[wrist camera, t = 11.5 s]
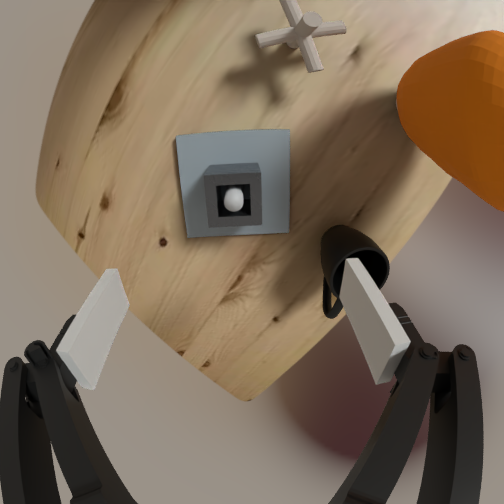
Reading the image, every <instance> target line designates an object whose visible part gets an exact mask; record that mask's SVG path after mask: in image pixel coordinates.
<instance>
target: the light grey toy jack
mask: <svg viewBox="0 0 504 504" xmlns="http://www.w3.org/2000/svg"><path fill="white" fill-rule="evenodd" d="M279 1H280V3H281V5H282V7H283V10H284V12H285V14H286V17H287V19H288V21H289V24H290V26H291V27H288V28H283V29H278V30H273V31H269V32H264V33H260V34H256V35H255V38H256V42H257V44H258V46H259V48H264V47H268V46H272V45H277V44H281V43H287V45H288V46H289V47H290V48H294V49H295V48H298V47H299V49H300V51H301V54H302V57H303V59H304V62H305V65H306V68H307V71H308V73H311V72H317V71H321V70H324V68H323V66H322V63H321V60H320V57H319V54H318V52H317V49H316V46H315V44H314V41H313V38H314V37H321V36H329V35H338V34H345V33H346V26H345V24H344V22H343V21H330V22H322V18H321V16H320V15H319V14H318V13H316V12H312V11H309V12H306V13H305V14H304V15H303V14H302V12H301V10H300V7H299V5H298V3H297V1H296V0H279Z"/></svg>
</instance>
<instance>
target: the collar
mask: <svg viewBox="0 0 504 504" xmlns="http://www.w3.org/2000/svg"><path fill="white" fill-rule="evenodd" d="M236 184H249V195H250V199H243V206H242V208H241V209H240V210H238V211H235V212H233V211H229V210H228V209H227V208H226V207H225V205H224V200H222V196H221V185H236ZM204 187H205V197H206V208H207V218H208V227H209V228H215V227H235V226H256V225H262V183H261V170H260V167H259V164H258V162H256V163H233V164H217V165H209V167H208V169H207V170H206V172H205V174H204Z"/></svg>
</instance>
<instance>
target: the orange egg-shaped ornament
mask: <svg viewBox="0 0 504 504" xmlns="http://www.w3.org/2000/svg"><path fill="white" fill-rule="evenodd" d="M396 108H397V110H398V114H399V118H400V123H401V125H402V127H403V128H404V130H405V132H406V134H407V135H408V137H409V138H410V139H411V140H412V141H413V142H414V143H415V144H416V145H417V147H418V148H419V149H420V150H421V151H423V152H424V153H425V154H426V155H427V156H428V157H430V158H431V159H432V160H433V161H434V162H435V163H436V164H437V165H438V166H440V167H441V168H442V169H443V170H444V171H445V172H446V173H447V174H449V175H450V176H452V177H453V178H455V179H457V180H458V181H460V182H461V183H462V184H464V185H465V186H466V187H467V188H469V189H470V190H471V191H472V192H474V193H475V194H476V195H478V196H479V197H480V198H481V199H483V200H484V201H486V202H487V203H488V204H490V205H491V206H493V207H494V208H496V209H498V210H500V211H503V212H504V33H503V32H499V31H494V30H491V31H484V32H479V33H475V34H472V35H468V36H465V37H462V38H459V39H457V40H454V41H452V42H449V43H447V44H445V45H444V46H442V47H440V48H437V49H435V50H433V51H431V52H430V53H428V54H426V55H424V56H422V57H421V58H419V59H418V60H416V61H415V62H414V63H413V64H412V66H411V67H410V68H409V69H408V70H407V71H406V73H405V74H404V75H403V77H402V79H401V81H400V83H399V85H398V89H397V99H396Z"/></svg>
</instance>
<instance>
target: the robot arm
mask: <svg viewBox="0 0 504 504" xmlns="http://www.w3.org/2000/svg"><path fill="white" fill-rule="evenodd" d="M339 298H340V300H341V302H342V305H343V307H344V309H345V311H346V313H347V316H348V318H349V320H350V322H351V325H352V327H353V329H354V332H355V334H356V337H357V339H358V341H359V343H360V346H361V348H362V351H363V353H364V356H365V358H366V361H367V363H368V366H369V368H370V371H371V373H372V376H373V378H374V381H375V384H381V383H385V382H389V381H391V379H392V377H393V375H394V374H395V376H396V378H397V381H396V383H395V385H394V386H393V388H392V390H391V391H390V393H391V395H390V397H389V399H388V402H387V404H386V406H385V408H384V411H383V413H382V415H381V417H380V419H379V421H378V423H377V425H376V427H375V429H374V431H373V433H372V435H371V437H370V439H369V440H368V442H367V444H366V446H365V448H364V450H363V451H362V453H361V455H360V456H359V458H358V460H357V462H356V463H355V465H354V467H353V468H352V470H351V471H350V473H349V475H348V476H347V478H346V479H345V481H344V482H343V484H342V485H341V487H340V488H339V490H338V491H337V493H336V494H335V496H334V497H333V498H332V500H331V501H330V502H329V503H328V504H386V502H387V499H388V498H389V496H390V494H391V492H392V490H393V489H394V487H395V485H396V483H397V481H398V479H399V477H400V475H401V473H402V470H403V468H404V466H405V464H406V462H407V459H408V457H409V455H410V452H411V450H412V448H413V445H414V443H415V440H416V437H417V435H418V432H419V429H420V427H421V424H422V421H423V418H424V415H425V412H426V409H427V405H428V402H429V399H430V419H429V432H428V442H427V451H426V458H425V466H424V471H423V477H422V483H421V487H420V492H419V496H418V501H417V504H479V497H480V489H481V481H482V468H483V412H482V399H481V389H480V381H479V374H478V368H477V361H476V356H475V353H474V351H473V350H472V349H471V348H470V347H468V346H467V345H463V344H460V345H457V346H456V347H455V348H454V350H453V351H452V352H440V351H438V349H437V348H436V347H435V346H433V345H431V344H430V343H424V341H423V339H422V338H421V336H420V334H419V333H418V331H417V330H416V328H415V327H414V325H413V323H411V320H410V318H409V317H408V316H407V314H406V312H405V311H404V309H403V308H402V307H401V306H399V305H398V304H397V303H389V304H388V303H387V301H386V300H385V298H384V296H383V295H382V293H381V292H380V290H379V289H378V287H377V285H376V284H375V282H374V281H373V279H372V278H371V276H370V275H369V273H368V272H367V270H366V269H365V267H364V266H363V264H362V263H361V261H360V260H359V259H358V258H348V259H346V261H345V267H344V273H343V279H342V285H341V291H340V296H339ZM129 306H130V305H129V302H128V299H127V297H126V294H125V291H124V288H123V285H122V282H121V278H120V275H119V272H118V269H106V271H105V272H104V273H103V275H102V276H101V278H100V279H99V281H98V282H97V284H96V285H95V287H94V288H93V290H92V291H91V293H90V294H89V296H88V298H87V299H86V301H85V302H84V304H83V306H82V307H81V309H80V310H79V312H78V313H77V315H72V316H71V317H70V318H69V319H68V320H67V321H66V323H65V324H64V326H63V329H61V331H60V334H59V335H58V336H57V338H56V339H55V341H54V343H53V345H52V346H51V348H50V350H49V349H48V348H47V346H46V345H45V343H44V342H43V341H40V340H37V341H33V342H32V343H30V344H29V345H28V346H27V347H26V349H25V352H24V356H25V357H26V358H27V360H28V361H29V362H30V363H26V364H25V363H24V362H23V361H22V359H21V358H19V357H14V358H11V359H10V360H9V361H8V362H7V364H6V366H5V369H4V375H3V382H2V390H1V398H0V481H1V490H2V497H3V503H4V504H61V500H60V496H59V491H58V487H57V482H56V477H55V471H54V465H53V458H52V450H51V444H52V446H53V449H54V452H55V455H56V458H57V460H58V463H59V465H60V468H61V470H62V473H63V475H64V477H65V479H66V482H67V484H68V486H69V488H70V491H71V493H72V496H73V498H72V499H71V500H70V504H138V503H137V502H136V501H135V500H134V499H133V498H132V496H131V495H130V493H129V492H128V490H127V489H126V487H125V486H124V484H123V482H122V481H121V479H120V478H119V476H118V474H117V473H116V471H115V469H114V468H113V466H112V464H111V462H110V460H109V458H108V457H107V455H106V453H105V451H104V449H103V447H102V445H101V443H100V441H99V439H98V437H97V435H96V433H95V431H94V429H93V426H92V424H91V422H90V420H89V418H88V415H87V413H86V411H85V408H84V406H83V403H82V401H81V398H80V395H79V393H78V390H77V389H76V387H75V384H76V381H77V382H78V383H79V384H80V385H81V387H82V388H86V389H91V390H95V387H96V384H97V381H98V379H99V376H100V374H101V371H102V368H103V366H104V363H105V361H106V358H107V356H108V353H109V351H110V349H111V346H112V344H113V341H114V339H115V337H116V334H117V332H118V330H119V328H120V325H121V323H122V321H123V319H124V316H125V314H126V312H127V310H128V308H129ZM25 397H26V400H25ZM50 441H51V442H50Z"/></svg>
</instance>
